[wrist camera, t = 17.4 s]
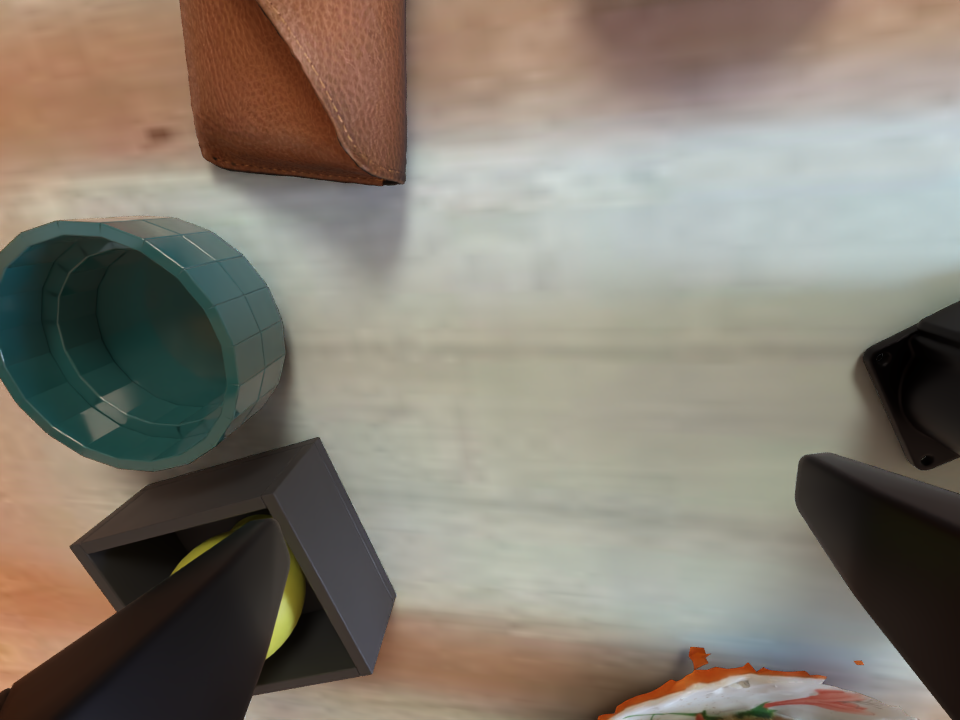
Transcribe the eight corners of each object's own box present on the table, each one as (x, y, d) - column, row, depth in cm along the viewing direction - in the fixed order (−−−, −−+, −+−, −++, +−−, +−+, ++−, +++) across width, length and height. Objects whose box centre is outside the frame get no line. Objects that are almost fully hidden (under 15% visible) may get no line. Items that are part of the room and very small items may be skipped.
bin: (319, 436, 23) (273, 492, 18) (396, 594, 26) (372, 674, 21) (146, 484, 25) (67, 546, 20) (238, 627, 28) (186, 708, 23)
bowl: (282, 220, 19) (217, 228, 15) (301, 427, 23) (253, 480, 18) (63, 210, 20) (-58, 214, 16) (113, 413, 23) (23, 461, 19)
